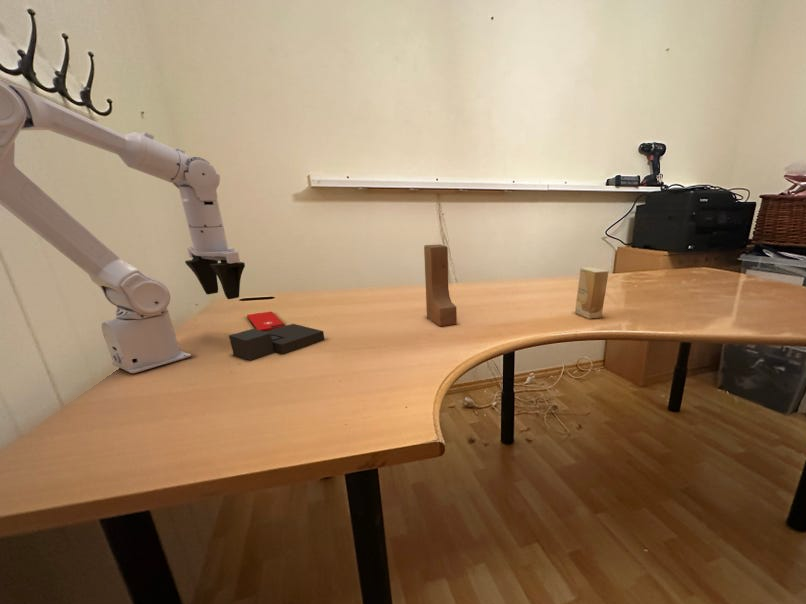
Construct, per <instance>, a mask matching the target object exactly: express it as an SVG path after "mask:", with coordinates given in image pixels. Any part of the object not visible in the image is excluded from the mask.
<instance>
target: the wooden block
mask: <svg viewBox="0 0 806 604" xmlns="http://www.w3.org/2000/svg"><path fill="white" fill-rule="evenodd" d="M448 250H449V248H448V246H447V245H443V244H425V245H424V246H423V254H424V256H423V257H424V277H425V278H424V279H425V280H424V281H425V304H426V317H427V318H428V319H429V320H431V321H432V322H434V323H435V324H437V325H438V326H439V327H444V326H451V325H453V326H454V325H457V320H458V319H457V316H458V315H457V306H456V305H455V303H453V302H452V298H451V296H450V290H449V253H448V252H449V251H448Z"/></svg>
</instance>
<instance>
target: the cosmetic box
mask: <svg viewBox="0 0 806 604" xmlns="http://www.w3.org/2000/svg"><path fill="white" fill-rule="evenodd" d="M608 277H609V271H608V270H607V269H602V268H598V267H594V266H587V267H581V268H580V271H579V277H578V287H577V294H576V302H575V309H574V313H575V314H577V315H579V316H582V317H584V318H586V319H588V320H591V319H598V318H602V316H603V309H604V303H605V298H606V297H605V296H606V290H607V284H608Z"/></svg>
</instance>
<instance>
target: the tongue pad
mask: <svg viewBox="0 0 806 604" xmlns="http://www.w3.org/2000/svg"><path fill="white" fill-rule="evenodd" d="M228 338H229V342H230V346H231V351H232V354H233V356H236V357H239V358H242V359H244V360H248V361H252V360H256V359H258V358H262V357H265V356H269V355H270V354H274V353H275V351H274V347H273V342H272V341H275V340H278V339H281V338H280V337H277V336H271V333H268V332H265V331H260V330H257V329H256V328H251V329H247V330H243V331H240V332H237V333H232V334H229V335H228Z"/></svg>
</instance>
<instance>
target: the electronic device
mask: <svg viewBox="0 0 806 604" xmlns="http://www.w3.org/2000/svg"><path fill="white" fill-rule="evenodd" d="M246 317H247V318H248V320H249V321H250V323H251V324H252V326H253V327H254V329H257V330H260V331H264V332H265V331H269V330H273V329H276V328H280V327H283V326H286V324H285V323H284V322H283V321H282V320H281V319H280V318H279V317H278V316H277V315H276V314H275V313H274V312H273V311H265V312H257V313H249V314H247V315H246Z"/></svg>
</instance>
